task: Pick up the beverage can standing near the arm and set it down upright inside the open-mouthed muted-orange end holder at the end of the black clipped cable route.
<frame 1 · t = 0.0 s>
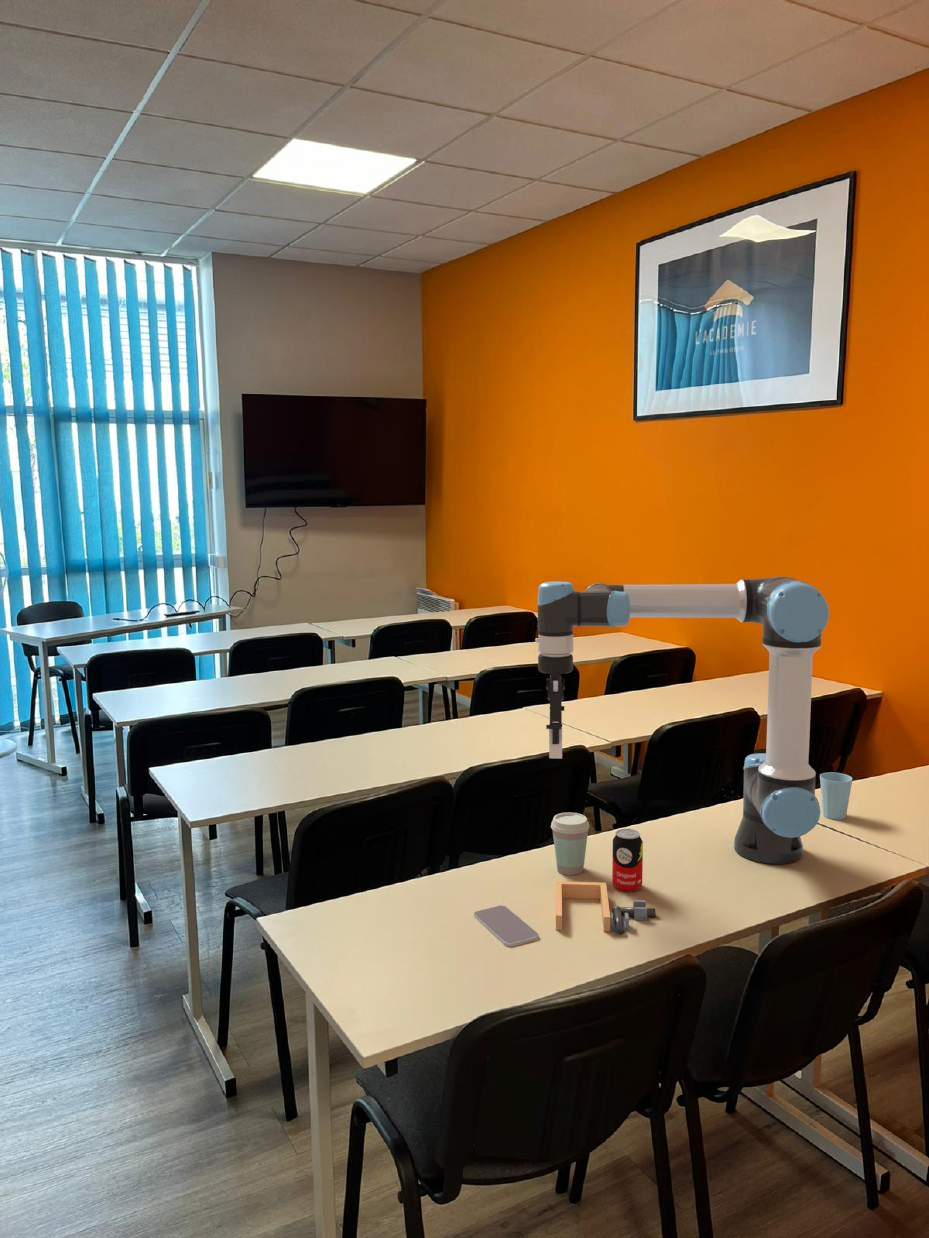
hand: (555, 748, 197), 28 cm above the table, fingers open, 13 cm apart
smartphone: (505, 928, 176), on the table
beverage can: (627, 887, 192), on the table
coffee cup: (570, 870, 201), on the table
cup: (834, 816, 230), on the table
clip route: (641, 922, 176), on the table
end holder: (581, 916, 179), on the table
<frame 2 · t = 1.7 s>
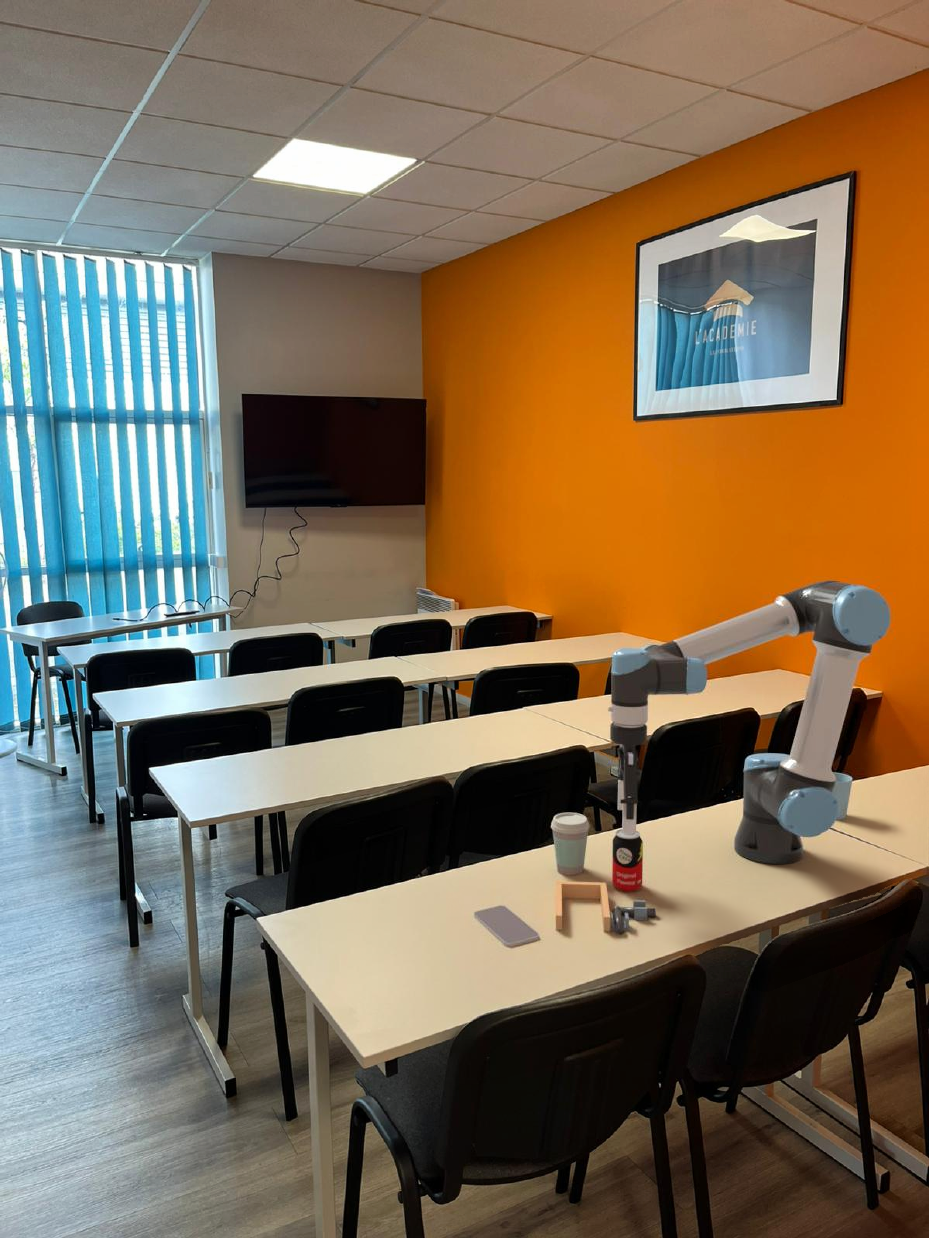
hand: (626, 820, 189), 15 cm above the table, fingers open, 13 cm apart
nothing on the table moved.
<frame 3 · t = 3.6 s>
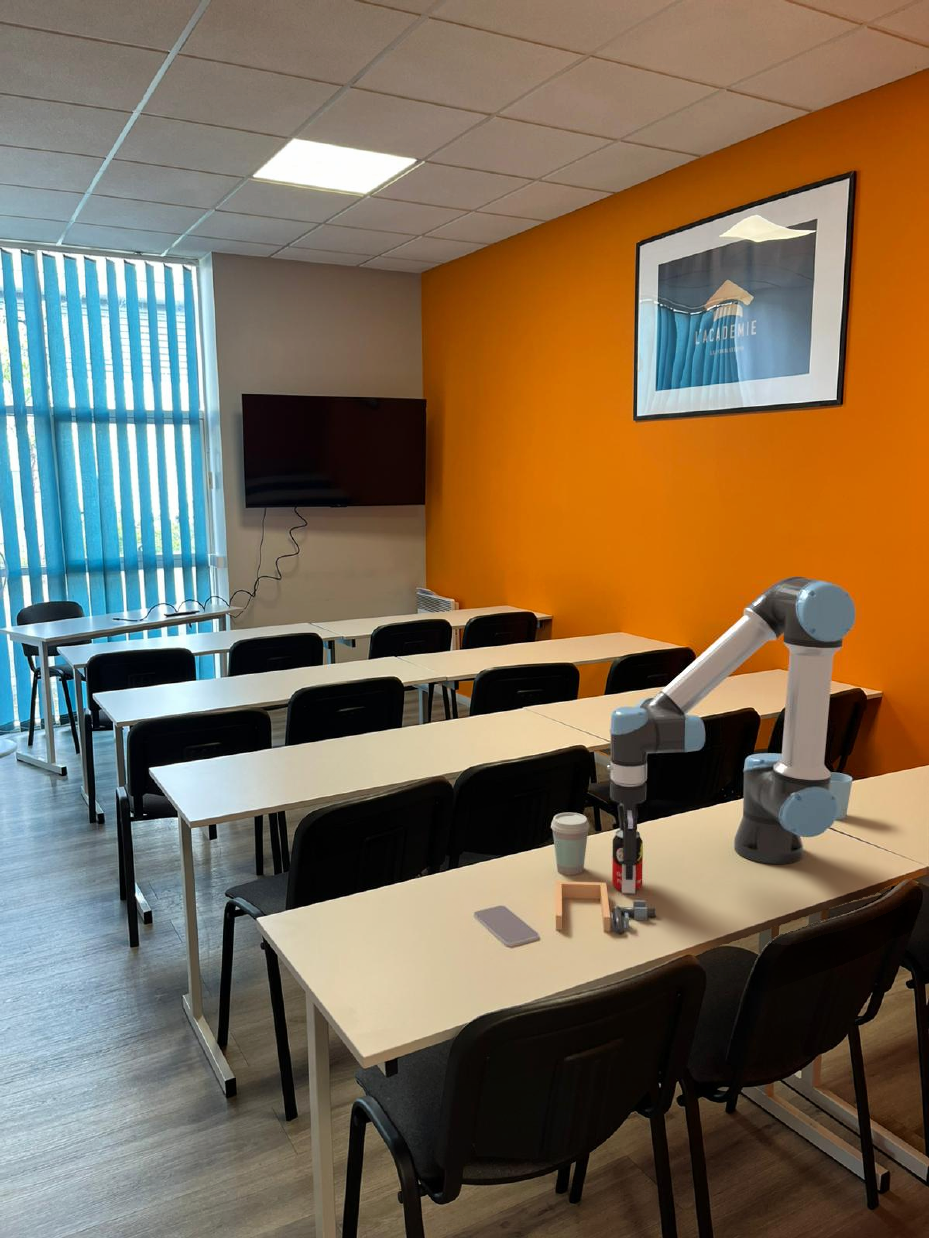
hand: (627, 884, 192), 0 cm above the table, fingers closed on beverage can, 6 cm apart
beverage can: (627, 887, 192), on the table, touching gripper
everything else where it was.
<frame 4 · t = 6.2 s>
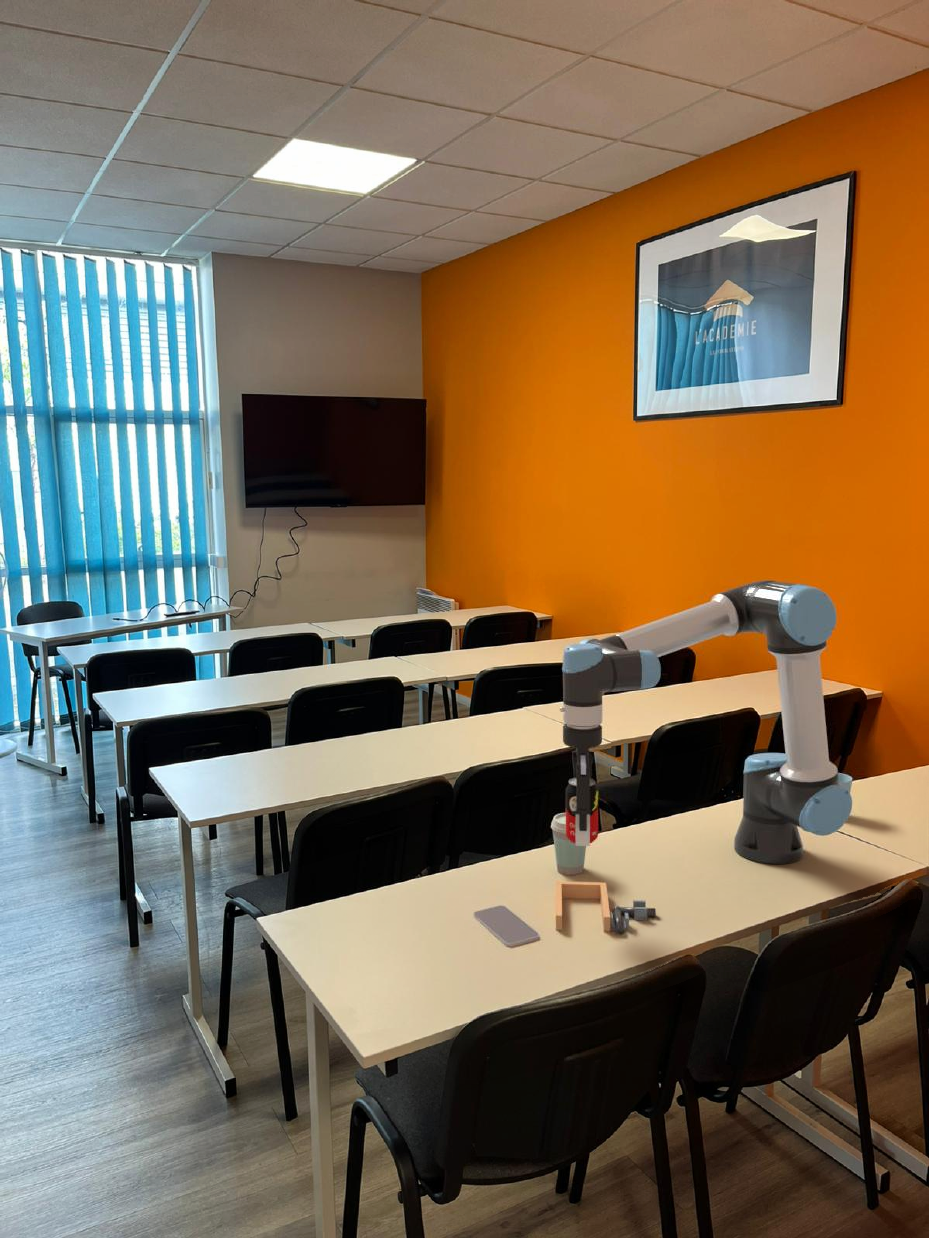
hand: (582, 837, 176), 16 cm above the table, fingers closed on beverage can, 6 cm apart
beverage can: (581, 840, 177), point 16 cm above the table, touching gripper
everything else where it was.
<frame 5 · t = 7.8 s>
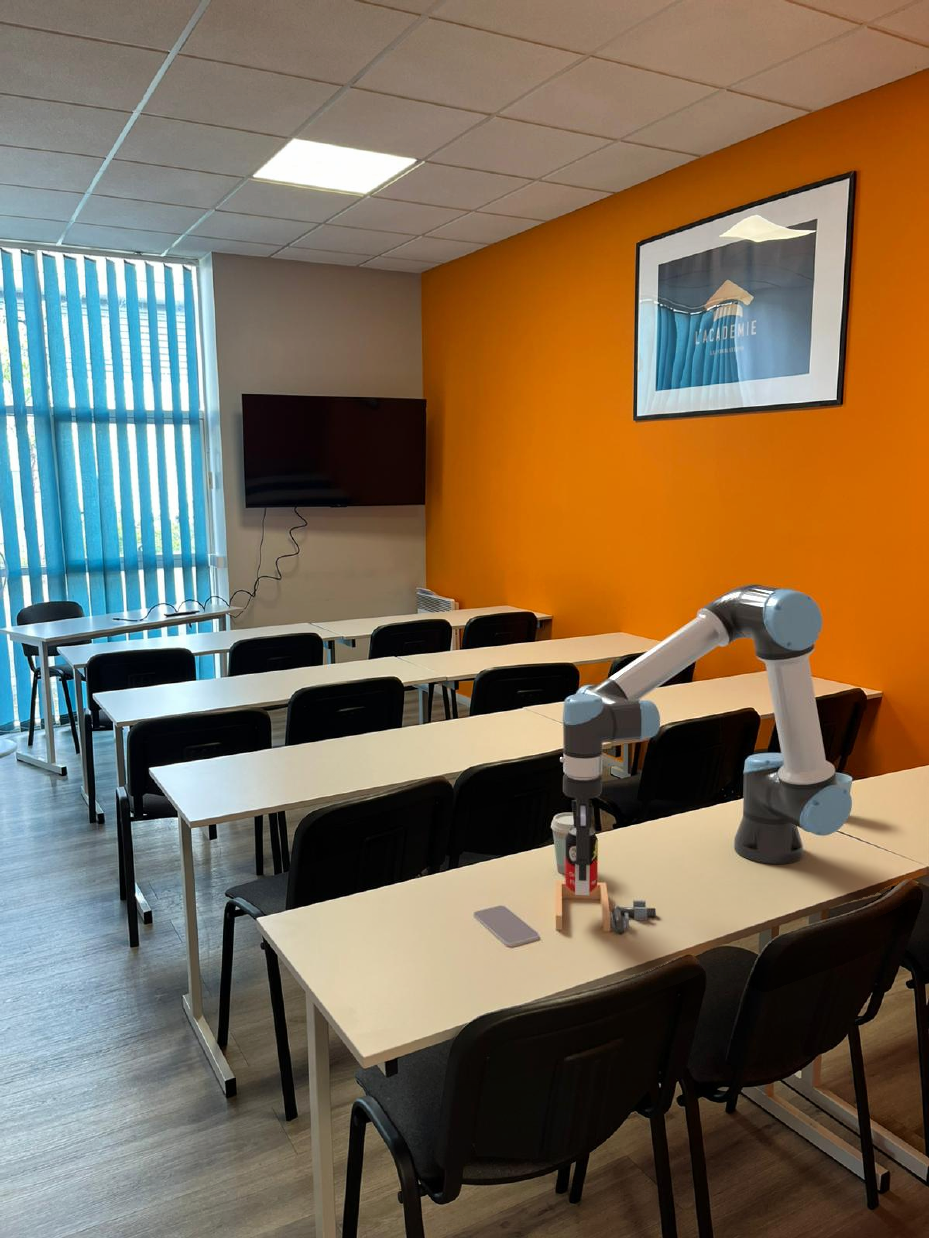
hand: (581, 886, 178), 6 cm above the table, fingers closed on beverage can, 6 cm apart
beverage can: (581, 889, 178), point 6 cm above the table, touching gripper
everything else where it was.
when the fingers open (3 cm above the table, at t = 8.9 s): beverage can drops 2 cm, resting in end holder.
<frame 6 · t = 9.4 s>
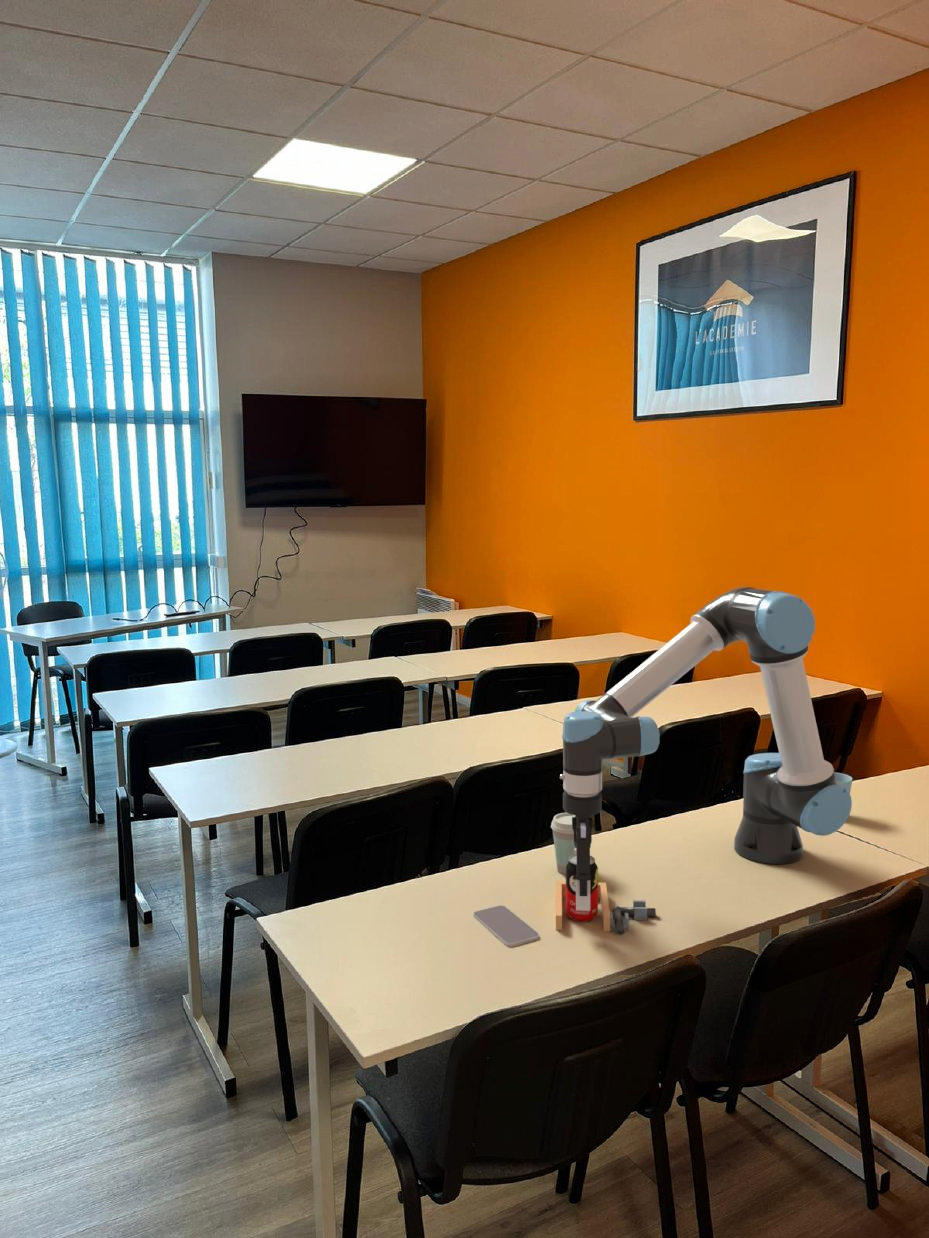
hand: (582, 894, 178), 5 cm above the table, fingers open, 13 cm apart
beverage can: (581, 917, 179), resting in end holder
everything else where it was.
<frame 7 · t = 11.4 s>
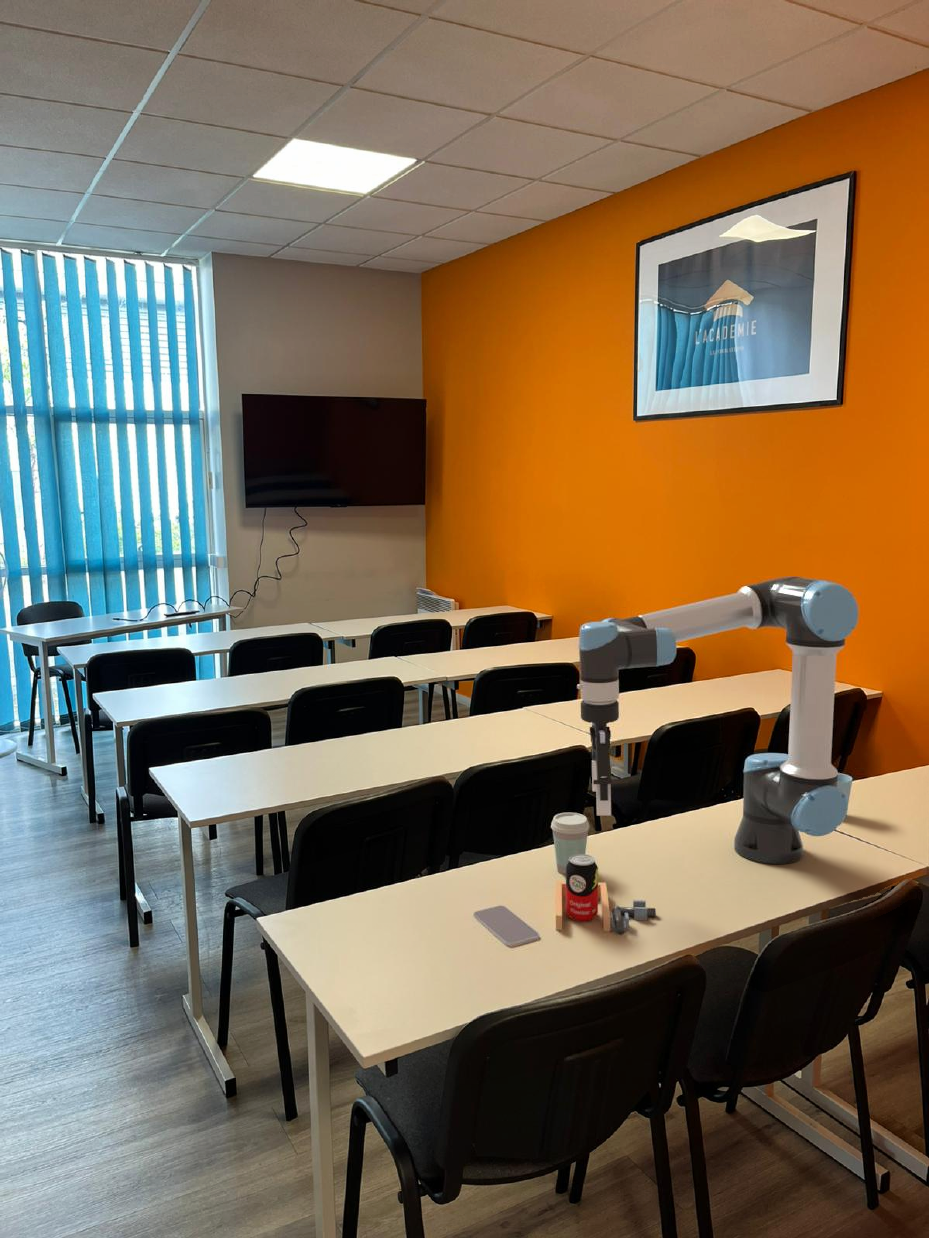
hand: (601, 802, 181), 22 cm above the table, fingers open, 13 cm apart
nothing on the table moved.
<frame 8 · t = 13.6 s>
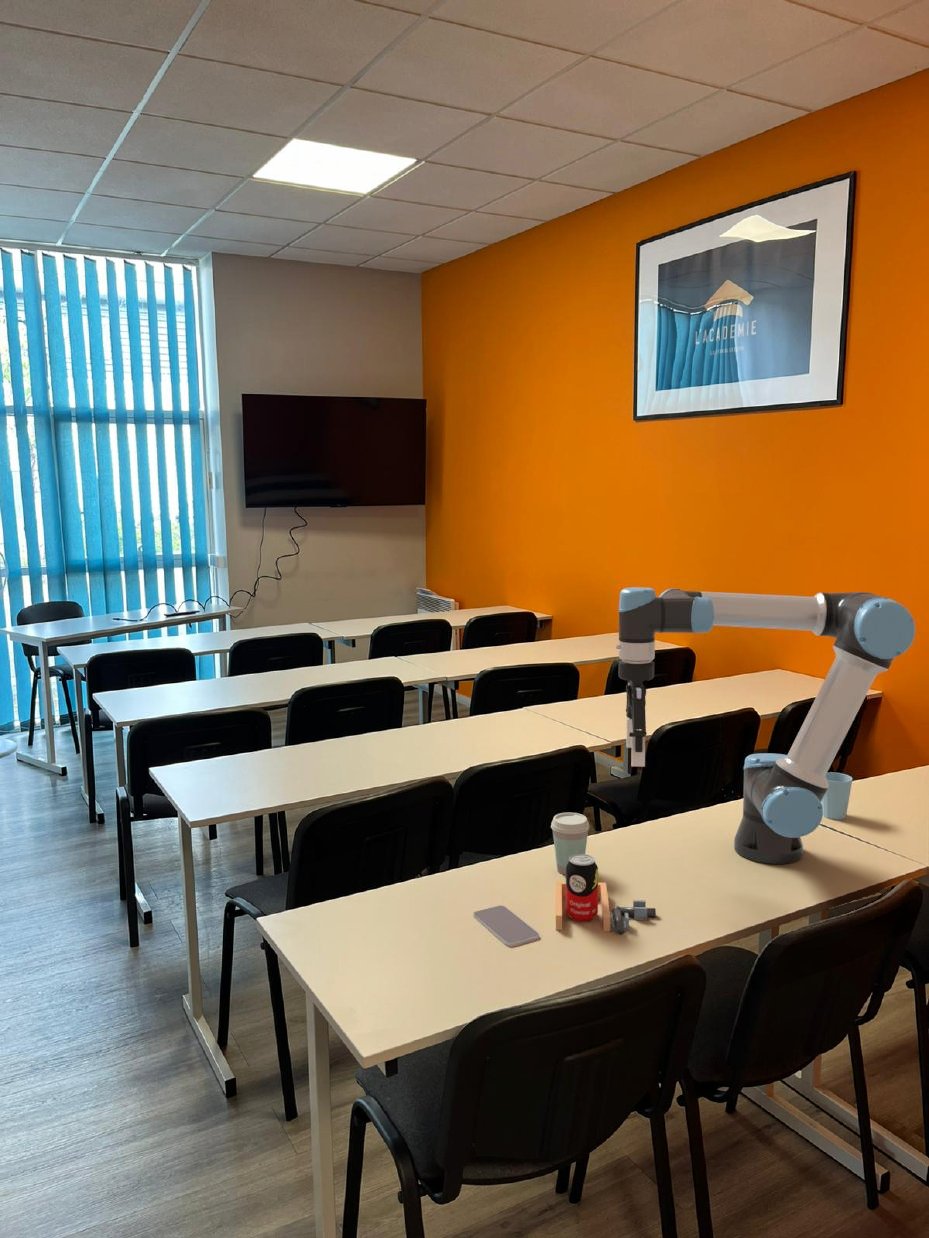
hand: (635, 756, 194), 27 cm above the table, fingers open, 13 cm apart
nothing on the table moved.
at the end: beverage can inside the target area on the end holder (1.0 cm from its centre), point 0.0 cm above the end holder's base; beverage can tilted 0°; the gripper is holding nothing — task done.
